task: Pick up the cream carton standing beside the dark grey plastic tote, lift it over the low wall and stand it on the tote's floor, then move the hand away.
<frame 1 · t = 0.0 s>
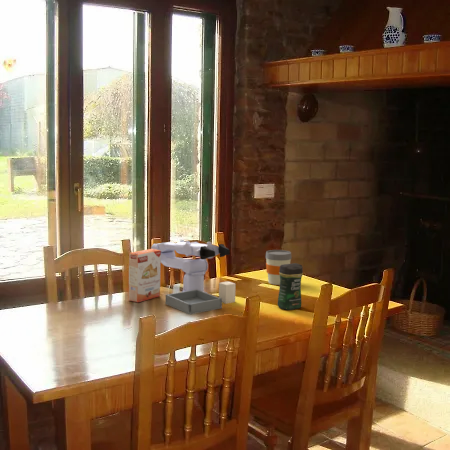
hand: (221, 252, 251), 22 cm above the table, fingers open, 7 cm apart
coffee jar: (289, 308, 250), on the table
tote: (193, 306, 249), on the table
carton: (226, 301, 257), on the table
cracker box: (144, 299, 259), on the table
reusable coffee cup: (277, 282, 292), on the table
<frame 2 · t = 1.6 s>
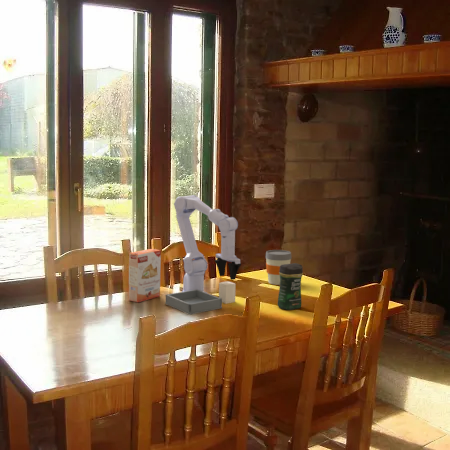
hand: (227, 277, 256), 10 cm above the table, fingers open, 7 cm apart
nothing on the table moved.
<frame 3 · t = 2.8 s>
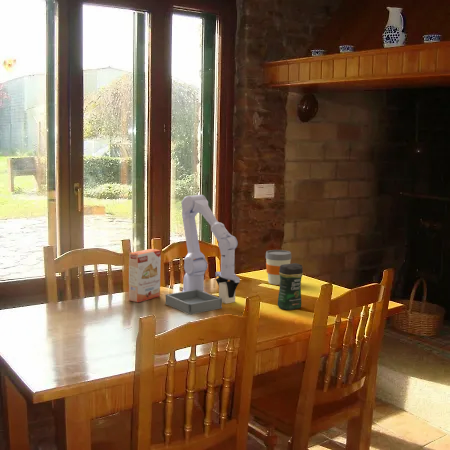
hand: (227, 295, 257), 2 cm above the table, fingers closed on carton, 5 cm apart
carton: (226, 301, 257), on the table, touching gripper
everything else where it was.
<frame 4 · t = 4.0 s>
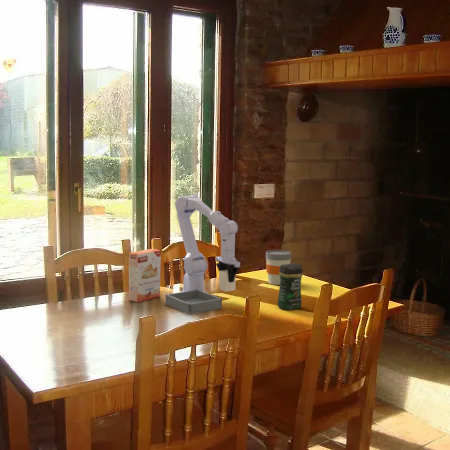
hand: (227, 280, 256), 9 cm above the table, fingers closed on carton, 5 cm apart
carton: (227, 289, 257), point 5 cm above the table, touching gripper
everything else where it was.
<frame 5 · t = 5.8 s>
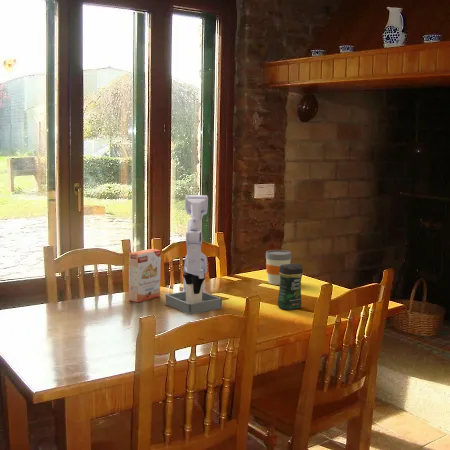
hand: (193, 292, 248), 6 cm above the table, fingers closed on carton, 5 cm apart
carton: (193, 304, 249), point 1 cm above the table, touching gripper, tote
everything else where it was.
when the fingers open (5 cm above the table, at t = 6.6 s): carton stays where it is, resting on tote.
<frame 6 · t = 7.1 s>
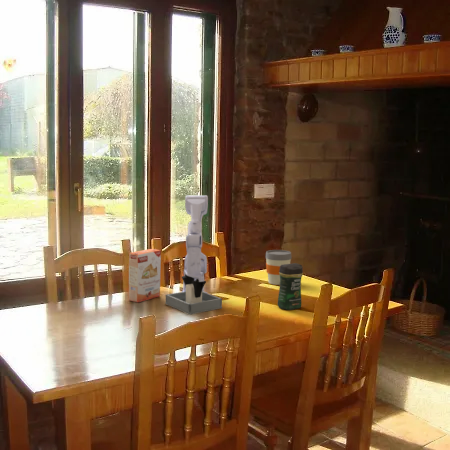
hand: (193, 295, 249), 5 cm above the table, fingers open, 7 cm apart
carton: (193, 304, 249), point 1 cm above the table, touching tote
everything else where it was.
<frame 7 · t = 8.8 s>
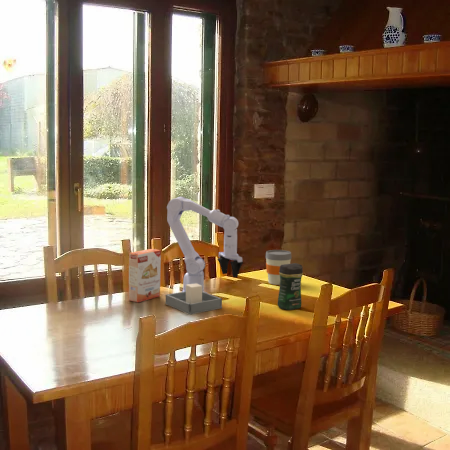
hand: (229, 275, 264), 9 cm above the table, fingers open, 7 cm apart
nothing on the table moved.
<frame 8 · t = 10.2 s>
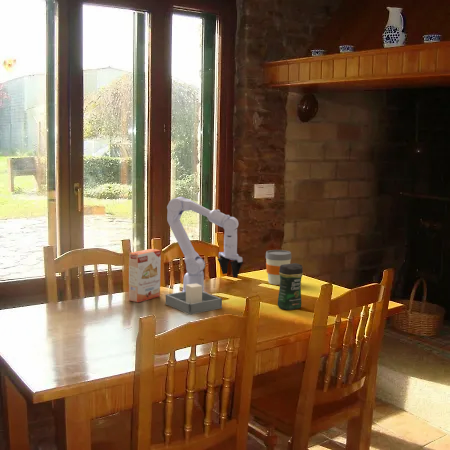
hand: (229, 275, 264), 9 cm above the table, fingers open, 7 cm apart
nothing on the table moved.
at the end: carton inside the target area on the tote (0.2 cm from its centre), point 0.8 cm above the tote's base; carton tilted 0°; the gripper is holding nothing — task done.
